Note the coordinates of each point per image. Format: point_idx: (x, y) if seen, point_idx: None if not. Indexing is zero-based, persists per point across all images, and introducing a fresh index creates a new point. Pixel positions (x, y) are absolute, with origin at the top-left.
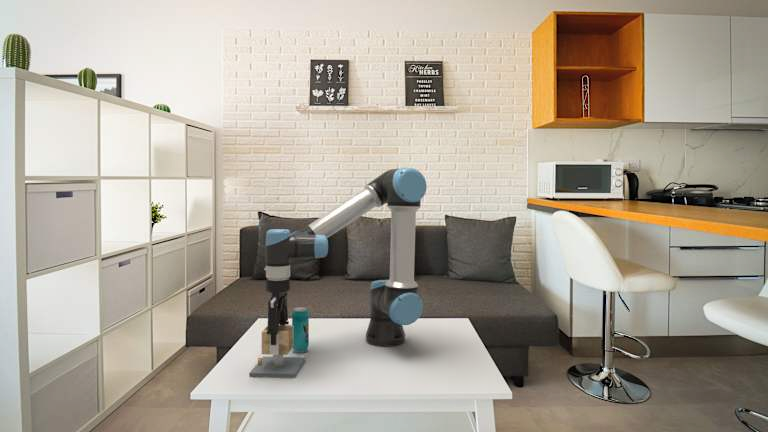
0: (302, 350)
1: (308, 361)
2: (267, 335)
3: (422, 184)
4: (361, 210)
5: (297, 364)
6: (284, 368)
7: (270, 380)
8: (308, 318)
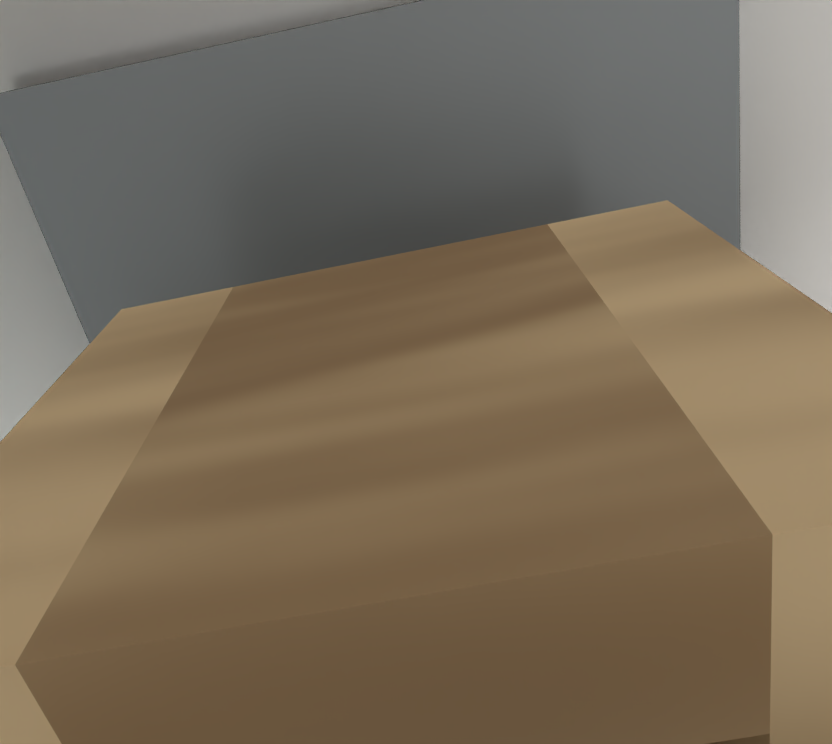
0: None
1: (3, 20)
2: None
3: None
4: None
5: (331, 83)
6: (539, 214)
7: (812, 256)
8: None
